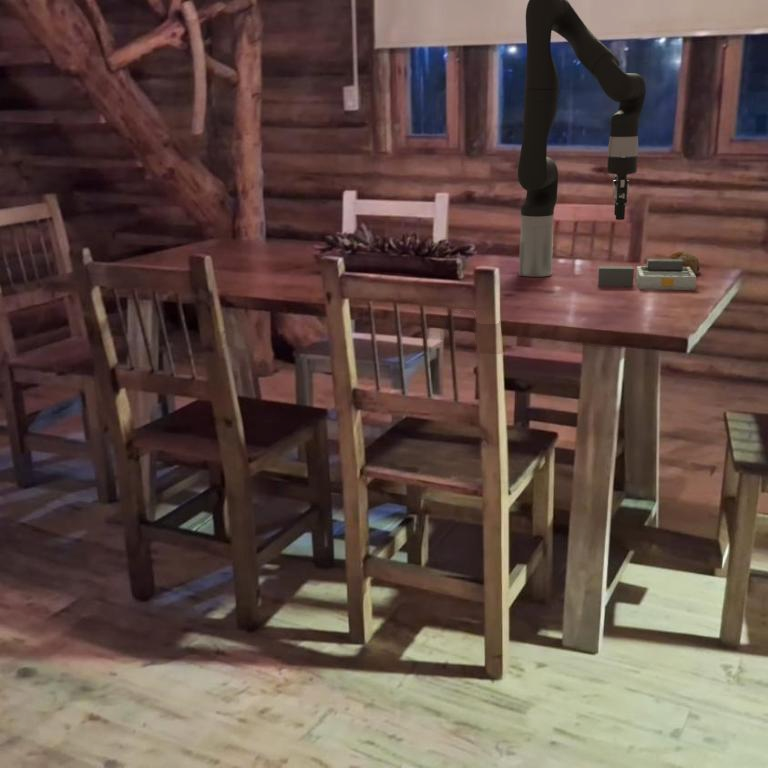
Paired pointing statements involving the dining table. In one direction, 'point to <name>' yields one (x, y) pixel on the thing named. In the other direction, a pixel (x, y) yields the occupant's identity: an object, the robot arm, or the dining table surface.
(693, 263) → the bread roll
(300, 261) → the dining table surface
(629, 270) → the panel
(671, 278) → the rack
